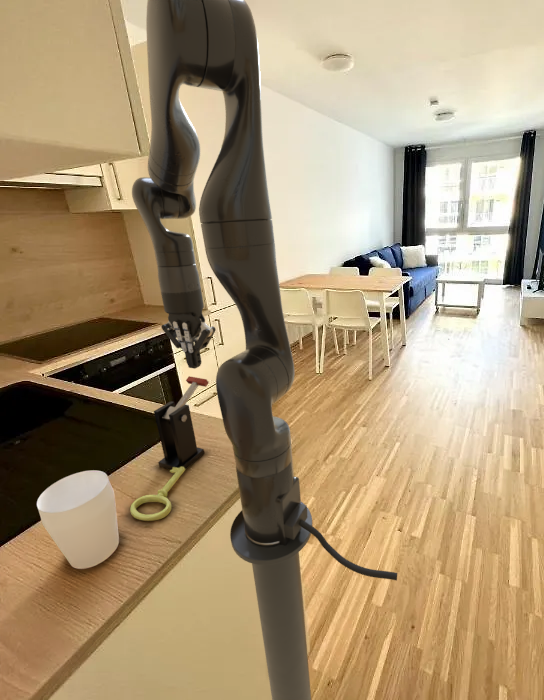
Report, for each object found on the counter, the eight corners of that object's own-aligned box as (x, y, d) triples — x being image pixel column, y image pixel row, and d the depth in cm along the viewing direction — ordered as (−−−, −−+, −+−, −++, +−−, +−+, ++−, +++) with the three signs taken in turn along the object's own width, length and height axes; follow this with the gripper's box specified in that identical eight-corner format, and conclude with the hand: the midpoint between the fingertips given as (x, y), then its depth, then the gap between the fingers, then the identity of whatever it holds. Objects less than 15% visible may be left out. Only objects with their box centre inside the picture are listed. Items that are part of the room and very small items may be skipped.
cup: (52, 586, 51) (24, 522, 47) (69, 537, 59) (47, 479, 55) (123, 564, 54) (103, 501, 50) (131, 520, 62) (114, 463, 58)
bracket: (183, 447, 82) (173, 398, 77) (204, 453, 80) (195, 402, 75) (159, 466, 76) (146, 413, 71) (180, 473, 74) (169, 419, 69)
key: (187, 472, 74) (185, 464, 73) (167, 520, 62) (165, 510, 61) (151, 476, 73) (148, 467, 72) (124, 524, 61) (121, 515, 61)
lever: (192, 381, 81) (187, 374, 80) (210, 384, 80) (205, 377, 78) (163, 422, 75) (156, 416, 73) (181, 426, 73) (175, 420, 71)
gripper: (219, 285, 73) (230, 364, 79) (170, 282, 78) (184, 357, 84) (193, 293, 66) (207, 378, 72) (141, 289, 71) (158, 369, 77)
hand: (194, 366), depth 78 cm, fingers closed
